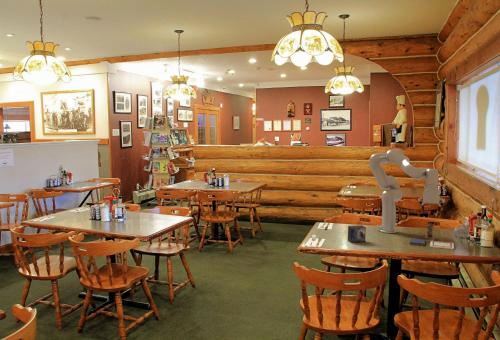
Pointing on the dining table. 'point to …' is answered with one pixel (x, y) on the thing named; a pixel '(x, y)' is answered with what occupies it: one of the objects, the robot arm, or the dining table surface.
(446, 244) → the marked board
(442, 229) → the dining table surface
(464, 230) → the pig figurine
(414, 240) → the ink pad
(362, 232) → the small box
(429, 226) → the stamp
